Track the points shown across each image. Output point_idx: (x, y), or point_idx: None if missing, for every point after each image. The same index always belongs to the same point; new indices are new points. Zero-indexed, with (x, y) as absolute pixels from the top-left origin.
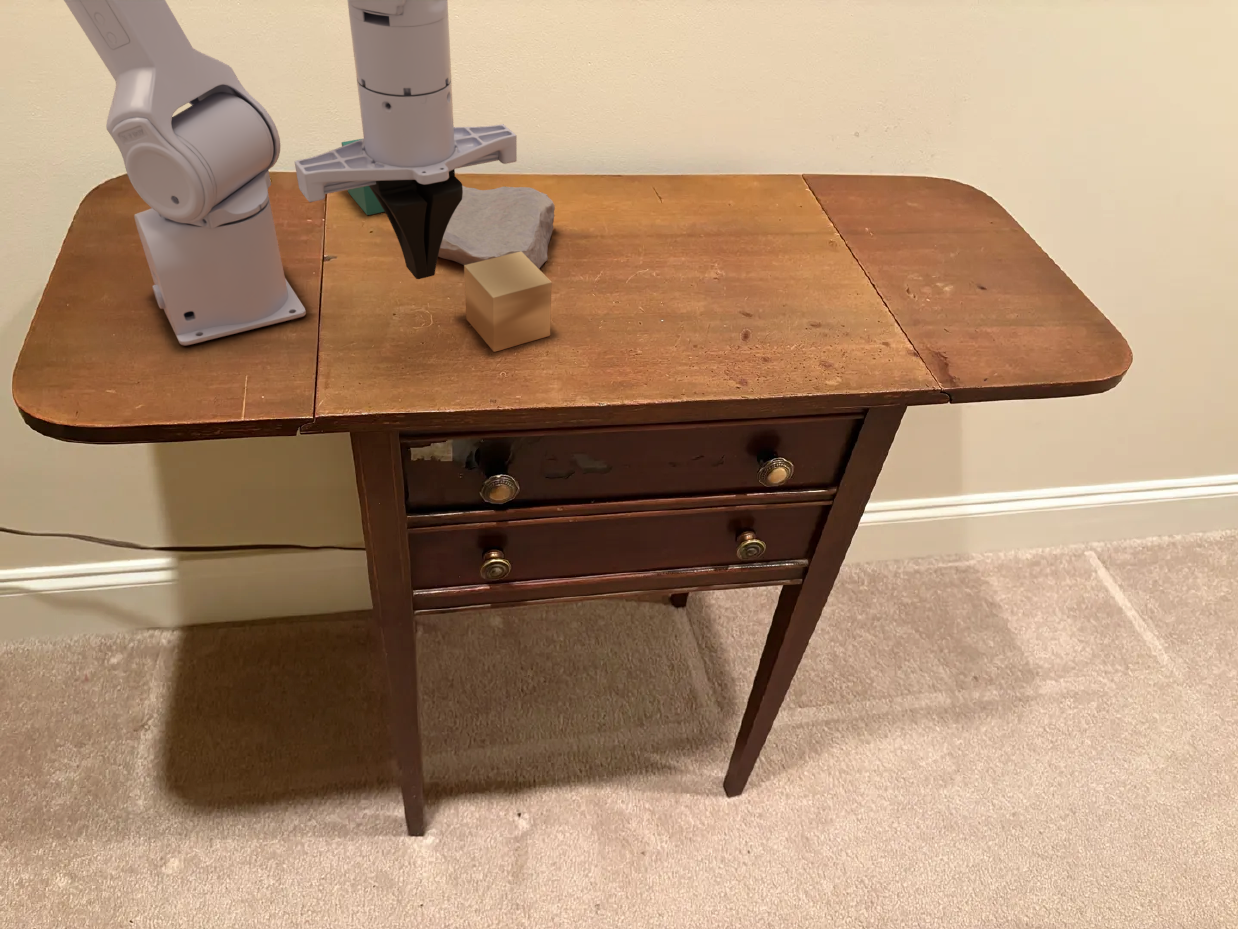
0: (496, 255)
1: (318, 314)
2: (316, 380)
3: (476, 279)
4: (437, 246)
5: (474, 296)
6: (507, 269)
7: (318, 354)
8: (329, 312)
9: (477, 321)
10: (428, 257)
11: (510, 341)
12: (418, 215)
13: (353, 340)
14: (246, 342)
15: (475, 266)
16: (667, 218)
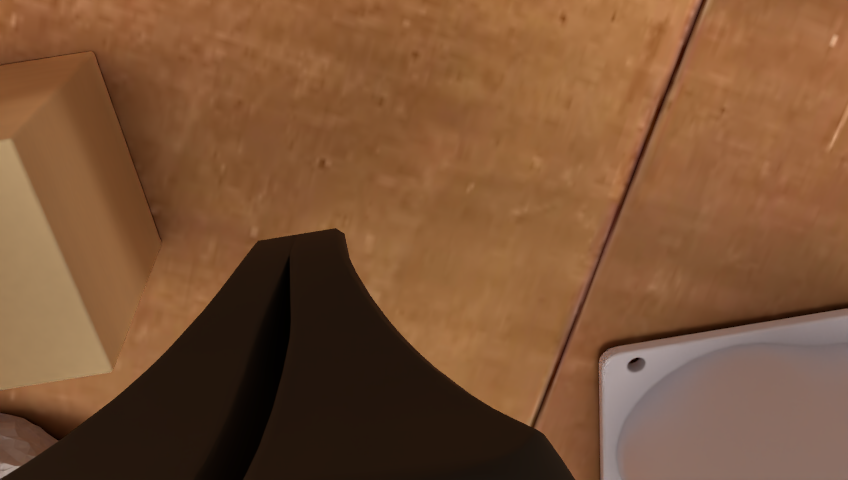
0: (5, 468)
1: (566, 352)
2: (673, 73)
3: (72, 277)
4: (212, 315)
5: (106, 249)
6: None
7: (625, 189)
8: (537, 354)
9: (123, 187)
10: (274, 279)
11: (18, 68)
12: (320, 431)
13: (515, 226)
14: (771, 283)
15: (65, 356)
16: None
